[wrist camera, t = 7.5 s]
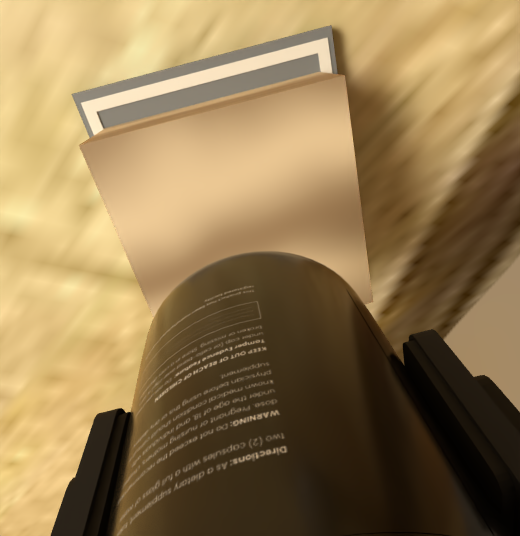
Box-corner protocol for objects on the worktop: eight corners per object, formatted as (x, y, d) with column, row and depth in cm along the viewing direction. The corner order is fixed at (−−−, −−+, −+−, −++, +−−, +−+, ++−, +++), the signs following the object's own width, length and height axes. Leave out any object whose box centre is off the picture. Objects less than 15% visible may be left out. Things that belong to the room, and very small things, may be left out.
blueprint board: (77, 92, 23) (70, 94, 22) (326, 26, 22) (331, 25, 21) (172, 325, 30) (171, 334, 29) (360, 277, 30) (365, 285, 29)
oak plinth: (105, 128, 23) (79, 145, 18) (318, 71, 22) (344, 75, 18) (175, 306, 28) (169, 353, 24) (347, 263, 28) (373, 301, 23)
